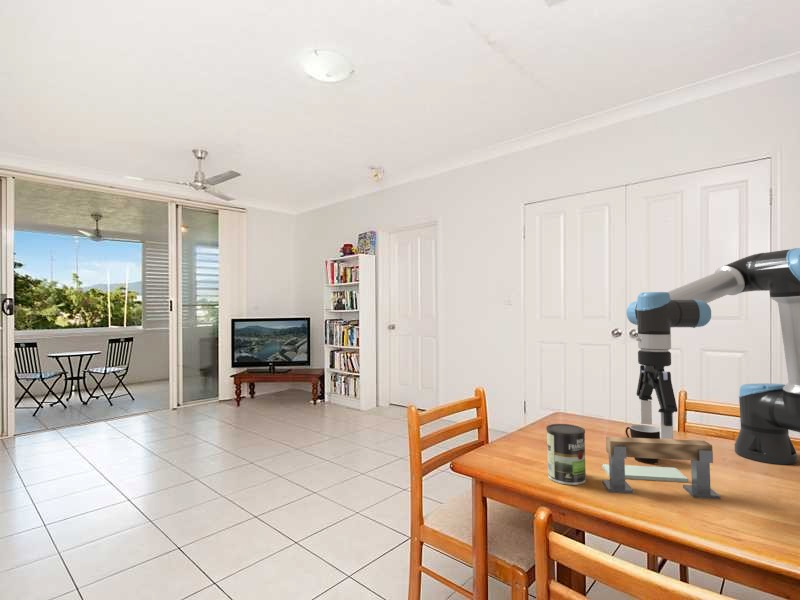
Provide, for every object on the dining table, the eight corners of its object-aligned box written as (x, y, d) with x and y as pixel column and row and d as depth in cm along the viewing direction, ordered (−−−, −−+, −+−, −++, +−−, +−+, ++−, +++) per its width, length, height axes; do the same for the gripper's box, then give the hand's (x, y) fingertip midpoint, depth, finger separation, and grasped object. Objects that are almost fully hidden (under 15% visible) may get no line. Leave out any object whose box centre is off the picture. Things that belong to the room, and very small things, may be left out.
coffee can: (594, 480, 118) (593, 430, 118) (568, 488, 113) (567, 435, 113) (564, 468, 127) (563, 421, 127) (539, 475, 122) (538, 426, 122)
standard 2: (707, 488, 111) (706, 443, 111) (721, 499, 105) (719, 451, 105) (682, 487, 112) (681, 442, 113) (694, 497, 106) (692, 450, 106)
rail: (704, 455, 110) (704, 440, 110) (712, 461, 106) (712, 445, 107) (606, 451, 115) (605, 436, 115) (610, 456, 111) (610, 441, 111)
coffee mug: (666, 465, 128) (665, 432, 128) (635, 464, 129) (634, 431, 130) (651, 453, 139) (651, 422, 139) (623, 451, 141) (622, 421, 141)
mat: (675, 471, 123) (675, 467, 123) (688, 482, 115) (688, 478, 115) (602, 467, 127) (602, 464, 127) (609, 477, 119) (609, 474, 119)
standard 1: (625, 483, 115) (624, 439, 115) (633, 494, 109) (632, 447, 109) (602, 482, 116) (601, 438, 117) (608, 492, 110) (607, 446, 110)
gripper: (623, 346, 124) (624, 418, 124) (657, 354, 100) (659, 444, 99) (651, 346, 123) (652, 419, 122) (692, 355, 99) (694, 446, 98)
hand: (655, 430), depth 111 cm, fingers open, 13 cm apart
